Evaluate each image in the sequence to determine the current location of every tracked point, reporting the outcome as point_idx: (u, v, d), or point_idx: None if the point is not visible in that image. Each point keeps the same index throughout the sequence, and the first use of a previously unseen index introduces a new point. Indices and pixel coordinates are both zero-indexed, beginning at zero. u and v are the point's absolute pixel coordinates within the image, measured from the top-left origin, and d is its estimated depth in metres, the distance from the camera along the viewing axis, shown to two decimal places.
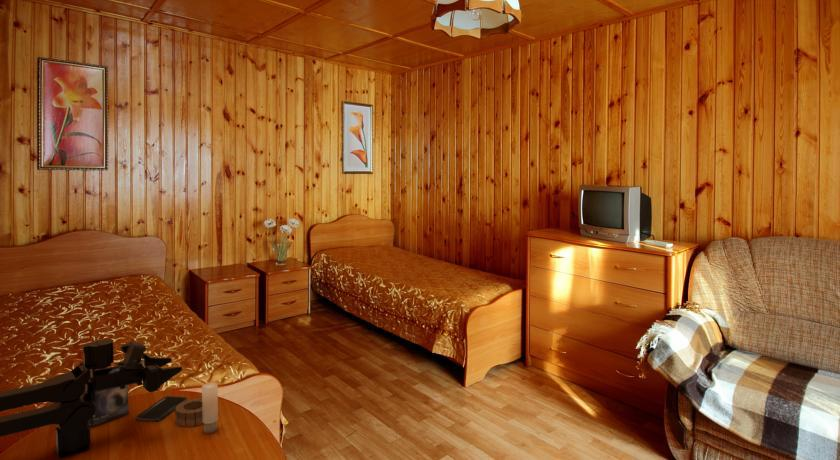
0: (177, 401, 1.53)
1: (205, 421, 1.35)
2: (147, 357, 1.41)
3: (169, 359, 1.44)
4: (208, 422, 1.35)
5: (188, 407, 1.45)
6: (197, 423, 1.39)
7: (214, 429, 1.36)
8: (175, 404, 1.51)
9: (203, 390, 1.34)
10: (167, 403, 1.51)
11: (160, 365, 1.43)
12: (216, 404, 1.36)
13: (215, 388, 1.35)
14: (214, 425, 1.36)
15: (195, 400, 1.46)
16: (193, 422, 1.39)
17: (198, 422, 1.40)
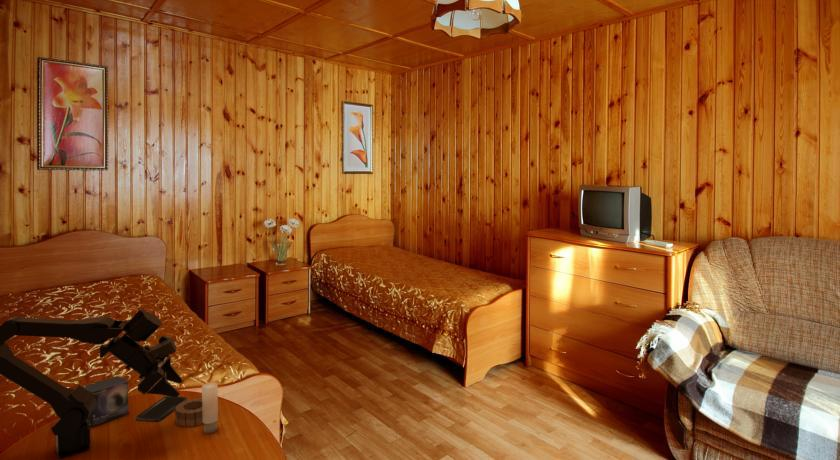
0: (177, 401, 1.53)
1: (205, 421, 1.35)
2: (168, 362, 1.36)
3: (180, 380, 1.37)
4: (208, 422, 1.35)
5: (188, 407, 1.45)
6: (197, 423, 1.39)
7: (214, 429, 1.36)
8: (175, 404, 1.51)
9: (203, 390, 1.34)
10: (167, 403, 1.51)
11: (169, 378, 1.36)
12: (216, 404, 1.36)
13: (215, 388, 1.35)
14: (214, 425, 1.36)
15: (195, 400, 1.46)
16: (193, 422, 1.39)
17: (198, 422, 1.40)
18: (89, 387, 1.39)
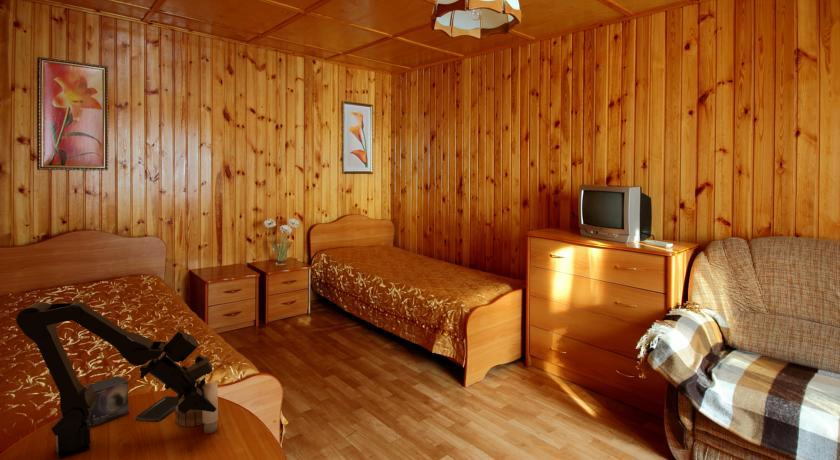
0: (177, 401, 1.53)
1: (205, 421, 1.35)
2: (203, 384, 1.37)
3: None
4: (208, 422, 1.35)
5: None
6: (197, 423, 1.39)
7: (214, 429, 1.36)
8: (175, 404, 1.51)
9: None
10: (168, 403, 1.51)
11: None
12: (216, 404, 1.36)
13: (215, 388, 1.35)
14: (214, 425, 1.36)
15: None
16: (193, 422, 1.39)
17: (198, 422, 1.40)
18: None
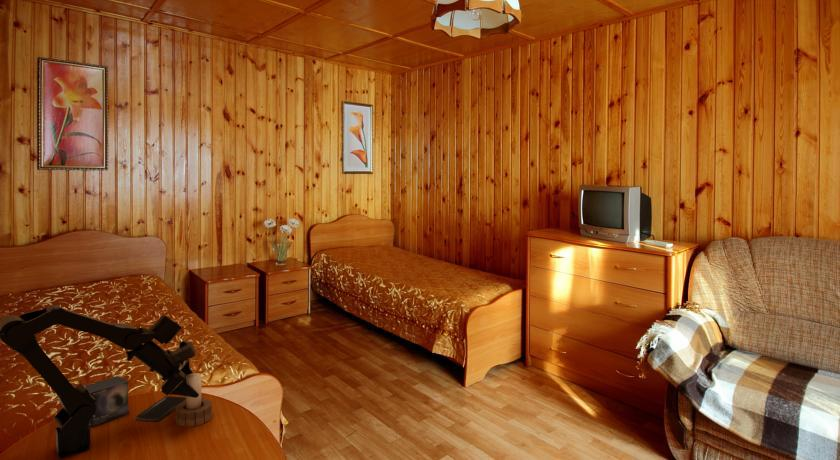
0: (177, 401, 1.53)
1: (189, 409, 1.41)
2: (188, 365, 1.46)
3: None
4: None
5: None
6: (197, 423, 1.39)
7: None
8: (175, 404, 1.51)
9: (187, 380, 1.41)
10: (168, 403, 1.51)
11: None
12: (200, 393, 1.42)
13: (199, 378, 1.42)
14: None
15: None
16: (193, 422, 1.39)
17: (198, 422, 1.40)
18: (89, 387, 1.39)
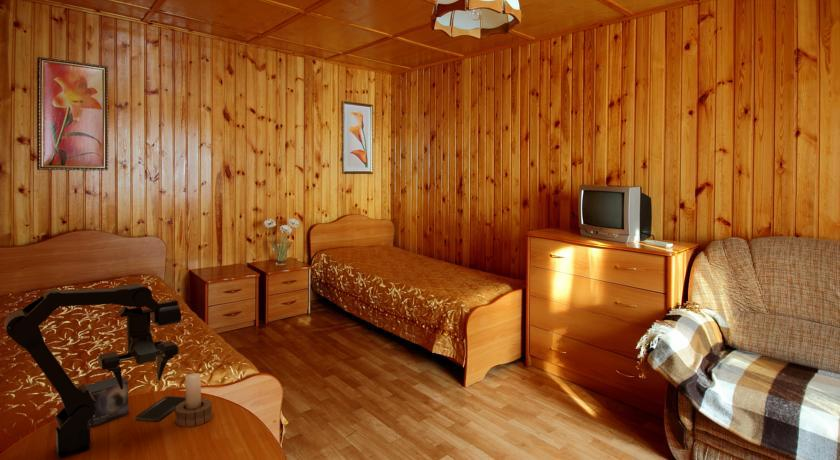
0: (177, 401, 1.53)
1: None
2: (162, 360, 1.37)
3: (158, 378, 1.38)
4: None
5: None
6: (197, 423, 1.39)
7: None
8: (175, 404, 1.51)
9: (186, 380, 1.40)
10: (168, 403, 1.51)
11: (157, 368, 1.39)
12: (199, 393, 1.42)
13: (198, 378, 1.41)
14: None
15: None
16: (193, 422, 1.39)
17: (198, 422, 1.40)
18: (89, 387, 1.39)
